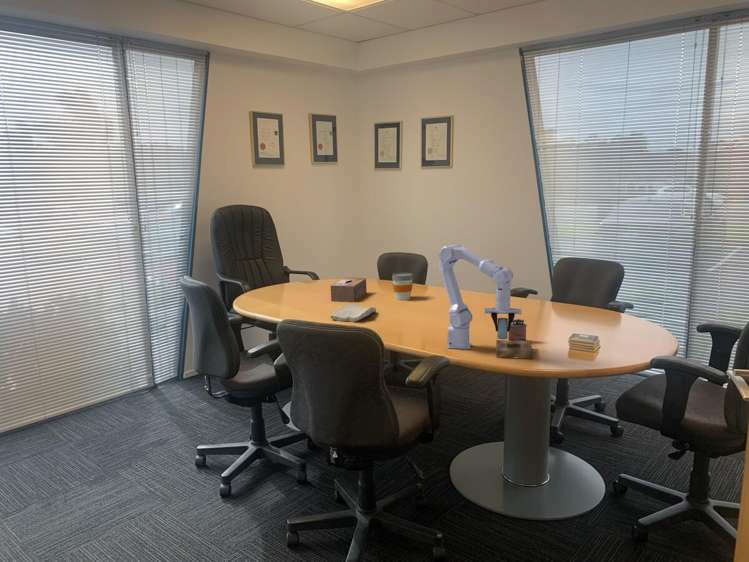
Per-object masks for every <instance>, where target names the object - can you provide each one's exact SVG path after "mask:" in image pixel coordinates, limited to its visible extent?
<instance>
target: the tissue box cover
mask: <svg viewBox="0 0 749 562" xmlns="http://www.w3.org/2000/svg"><path fill="white" fill-rule="evenodd" d="M366 294H367V277H366V278H364V277H363V278H362V277H344V278H341V279H340V280H338V281H336V282H334V283H333V284H331V285H330V302H334V303H335V302H337V303H342V302H343V303H355V302H356V301H359V299H360V298H362V297H364V296H365V295H366Z"/></svg>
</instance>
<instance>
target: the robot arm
mask: <svg viewBox="0 0 749 562" xmlns="http://www.w3.org/2000/svg"><path fill="white" fill-rule="evenodd" d="M437 254H438V258H439V259H438V260H439V263H438V268H439V272H440V275H441V278H442V282H443V285H444V288H445V292H446V295H447V298H448V302H449V305H450V308H449V310H448V313H449V314H448V315H449V320H448V321H449V324H450V325H447V340H446V342H447V349H461V350H462V349H463V350H466V349H467V350H469V349H471V342H470V324H471V322H472V321H473V313H472V311H470V309H469V306H468V305H467V304H465V303H464V300H463V297H462V294H461V291H460V287H459V284H458V281H457V278H456V275H455V272H454V266H455V265H456V262H458V261H459V260H464V261H466V262H468V263H470V264H472V265H474V266H476V267H478V268H479V271H480V272H481V273H483V274H485V275H486V276H488V277H489V278H491V279H493V281H494V282H495V307H484V310H483V311H484V312H483V313H484V314H485V315H487V314H490V317H491V319H492V322H493V324H494V328H495V332H498V315H499V314H500V315H501V314H503V315H507V319H508V332H509V331H510V326H511V324H513V323H512V321H513V319H515V318H516V317H515V316H516V315H520V316H521V315H522V312H523V311H522V310H523V309H522V308H514V307H511V281H512V280H513V278H514V273H513V271H512V269H510V268H509V267H503V265H501V264H500V265H499V264H497V263H495V262H494V260H493V259H491V258H490V259H483V258H481V257H479V256H478V255H476V254H474V253H473V252H471V251H470V250H468V249H467V248H466V247H465V246H463V245H461V244H458V243H456V244H452V245H446V246H443V247H441V249H440V251H439V252H438V253H437Z"/></svg>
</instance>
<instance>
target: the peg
mask: <svg viewBox="0 0 749 562" xmlns="http://www.w3.org/2000/svg"><path fill="white" fill-rule="evenodd" d="M497 326H498V332H497V331H496V332H497V337H496V338H497V339H498V340H508V317H507V318H506V317H497Z"/></svg>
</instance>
